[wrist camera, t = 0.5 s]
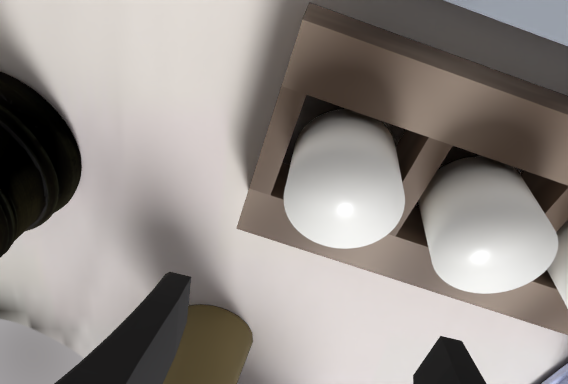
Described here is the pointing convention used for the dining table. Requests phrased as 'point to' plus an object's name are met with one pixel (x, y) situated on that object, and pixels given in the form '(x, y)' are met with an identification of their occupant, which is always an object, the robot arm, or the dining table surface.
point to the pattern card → (526, 15)
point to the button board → (417, 145)
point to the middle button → (485, 227)
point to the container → (32, 161)
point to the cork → (210, 348)
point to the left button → (344, 181)
